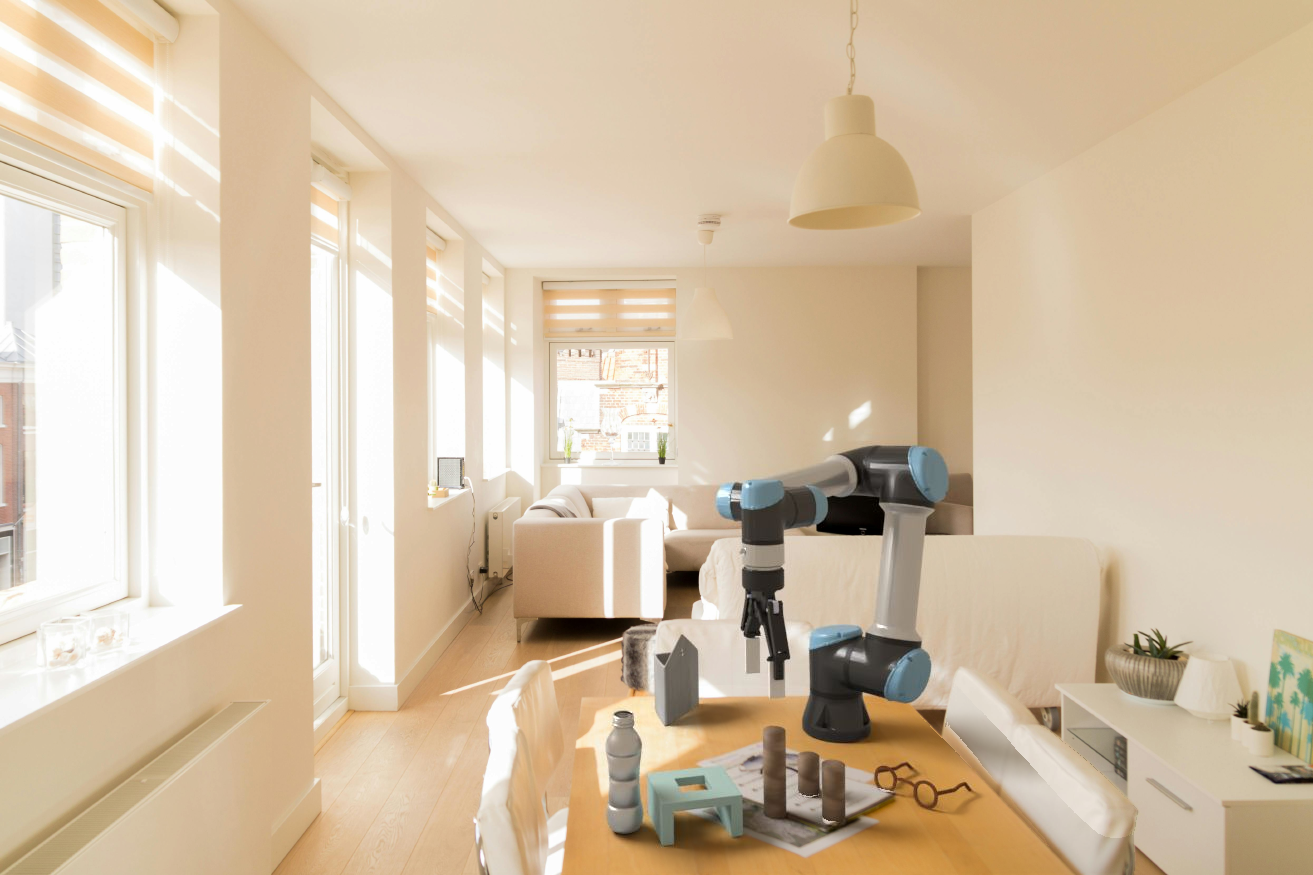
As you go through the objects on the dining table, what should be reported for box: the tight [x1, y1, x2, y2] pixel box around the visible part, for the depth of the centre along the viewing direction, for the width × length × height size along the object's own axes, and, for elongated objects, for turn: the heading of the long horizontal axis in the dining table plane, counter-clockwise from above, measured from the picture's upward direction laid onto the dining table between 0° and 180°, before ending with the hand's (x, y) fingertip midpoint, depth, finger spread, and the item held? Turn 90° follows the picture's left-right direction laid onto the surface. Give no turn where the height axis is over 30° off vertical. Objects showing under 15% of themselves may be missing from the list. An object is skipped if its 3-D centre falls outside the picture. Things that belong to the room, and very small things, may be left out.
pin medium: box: [821, 759, 847, 828], centre depth 142 cm, size 4×4×10 cm
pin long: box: [762, 725, 787, 820], centre depth 145 cm, size 4×4×15 cm
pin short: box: [797, 750, 821, 796], centre depth 153 cm, size 4×4×7 cm
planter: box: [653, 633, 700, 727], centre depth 195 cm, size 16×8×19 cm, turn 149°
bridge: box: [646, 764, 744, 847], centre depth 142 cm, size 14×12×7 cm
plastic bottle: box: [605, 710, 645, 835], centre depth 140 cm, size 6×7×20 cm
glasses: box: [873, 761, 972, 810], centre depth 154 cm, size 13×13×5 cm
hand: (764, 684), depth 145 cm, fingers open, 13 cm apart
